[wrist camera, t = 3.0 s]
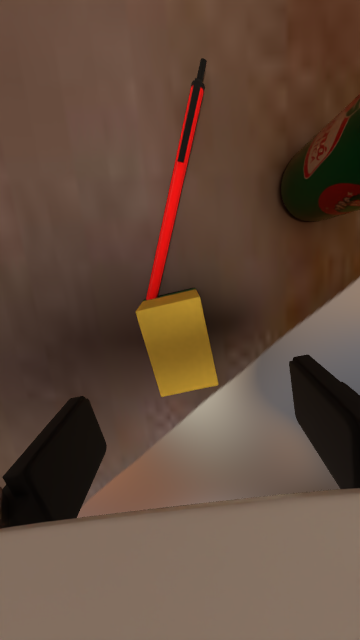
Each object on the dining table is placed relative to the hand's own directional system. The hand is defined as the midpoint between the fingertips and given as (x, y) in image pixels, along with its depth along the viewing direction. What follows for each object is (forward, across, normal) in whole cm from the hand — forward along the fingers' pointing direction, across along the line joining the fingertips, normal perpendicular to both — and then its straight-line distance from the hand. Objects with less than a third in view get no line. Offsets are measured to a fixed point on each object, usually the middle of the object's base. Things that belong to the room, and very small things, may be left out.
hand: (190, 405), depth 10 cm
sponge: (+10, +1, 0) cm, 10 cm away
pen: (+10, 0, -9) cm, 14 cm away
